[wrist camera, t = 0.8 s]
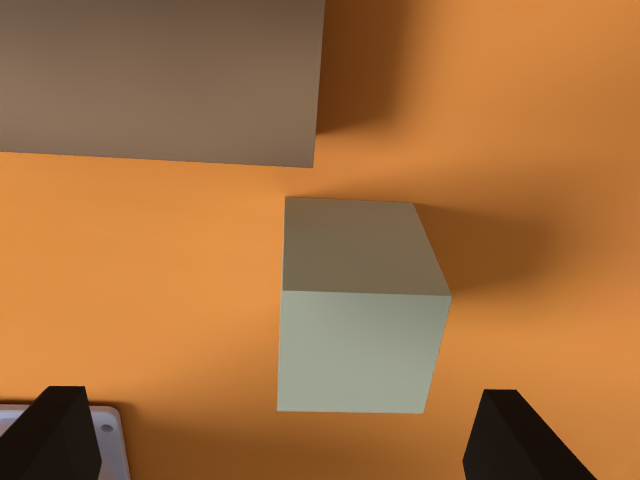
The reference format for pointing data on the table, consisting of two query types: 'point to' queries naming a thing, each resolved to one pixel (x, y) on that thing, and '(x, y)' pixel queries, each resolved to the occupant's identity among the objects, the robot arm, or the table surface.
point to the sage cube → (358, 307)
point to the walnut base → (162, 79)
